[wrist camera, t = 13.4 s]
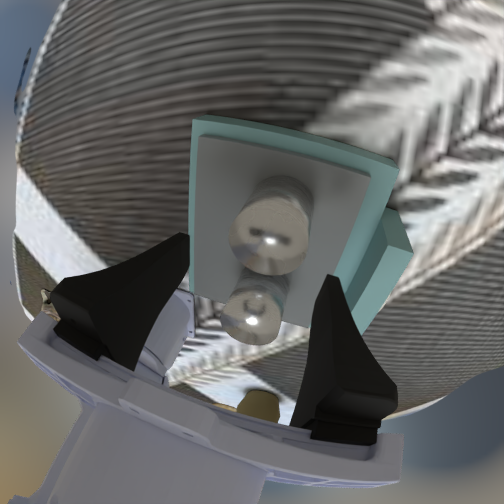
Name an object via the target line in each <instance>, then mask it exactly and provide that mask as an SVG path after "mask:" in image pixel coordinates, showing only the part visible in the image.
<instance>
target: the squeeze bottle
mask: <svg viewBox="0 0 504 504" xmlns="http://www.w3.org/2000/svg"><path fill="white" fill-rule="evenodd" d="M236 412H237V413H240V414H244V415H247V416H251V417H254V418H258V419H262V420H266V421H270V422H274V423H278V420H279V418H280V411H279V402H278V398H277V397H276V396H274V395H273V394H270V393H268V392H264V391H257V390H254V391H250V392H248V393H247V395H246V396H245V397H244V398H243V400H242V401H241V402H240V403H239V405H238V406H237V411H236Z"/></svg>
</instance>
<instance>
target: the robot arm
mask: <svg viewBox="0 0 504 504" xmlns="http://www.w3.org/2000/svg"><path fill="white" fill-rule="evenodd" d="M189 266H190V235H187V234H184V233H180V232H179V233H178V234H176V235H174V236H172V237H170V238H169V239H167V240H165V241H163V242H162V243H160V244H158V245H156V246H154V247H153V248H151V249H149V250H147V251H145V252H143V253H141V254H139V255H138V256H136V257H134V258H131V259H129V260H127V261H125V262H122V263H120V264H117V265H115V266H112V267H109V268H106V269H103V270H100V271H96V272H93V273H88V274H84V275H79V276H73V277H67V278H64V279H63V280H62V281H61V282H60V283H59V284H58V285H57V286H56V287H55V288H54V290H53V291H52V292H51V293H50V299H51V302H52V304H53V306H54V308H55V310H56V312H57V314H58V315H59V317H60V321H59V322H58V323H57V322H56V321H55V320H54V319H53V318H52V317H50V316H49V315H47V314H46V313H45V312H43V311H41V312H40V313H39V314H38V315H37V317H36V318H35V319H34V320H33V322H32V323H31V324H30V325H29V327H28V328H27V329H26V330H25V332H24V333H23V334H22V335H21V337H20V338H19V339H18V341H17V343H18V345H19V346H20V347H21V348H22V349H23V351H24V352H25V353H26V354H27V355H28V357H29V358H30V359H31V360H32V361H33V362H34V363H35V364H36V366H37V367H39V368H40V369H41V370H42V371H43V372H45V373H46V374H47V375H48V376H49V377H51V378H52V379H53V380H54V381H56V382H57V383H58V384H59V385H61V386H62V387H63V388H64V389H66V390H67V391H69V392H70V393H71V394H72V395H74V396H75V397H76V398H77V399H78V401H79V404H80V406H81V409H82V411H81V412H80V414H79V416H78V417H77V419H76V421H75V423H74V425H73V426H72V428H71V430H70V432H69V433H68V435H67V437H66V439H65V440H64V442H63V444H62V446H61V448H60V450H59V451H58V453H57V455H56V457H55V459H54V461H53V463H52V465H51V467H50V468H49V471H48V472H47V474H46V477H45V479H44V480H43V483H42V485H41V487H40V488H39V489H38V490H37V491H36V492H35V493H34V494H33V495H31V496H30V497H29V498H27V497H22V496H17V495H14V497H13V499H10V500H9V502H8V504H258V501H259V497H260V494H261V492H262V488H263V485H264V482H265V480H270V481H276V482H282V483H290V484H298V485H307V486H321V487H341V488H372V487H378V486H383V485H388V484H393V483H397V482H399V481H400V476H401V467H402V456H403V440H404V435H403V434H391V433H381V434H377V430H378V428H380V427H381V420H382V419H383V418H385V417H387V416H388V415H390V414H391V413H393V412H394V411H395V410H396V409H397V407H398V392H397V386H396V384H395V383H394V382H393V381H392V380H391V379H390V377H389V376H388V375H387V374H386V373H385V372H384V370H383V369H382V368H381V366H380V365H379V364H378V362H377V361H376V359H375V358H374V356H373V355H372V353H371V352H370V350H369V349H368V347H367V345H366V344H365V342H364V340H363V338H362V336H361V334H360V332H359V330H358V328H357V326H356V324H355V321H354V319H353V317H352V314H351V311H350V309H349V306H348V303H347V301H346V298H345V295H344V292H343V288H342V285H341V282H340V279H339V277H337V276H333V275H330V274H327V275H326V278H325V280H324V282H323V285H322V287H321V289H320V291H319V294H318V296H317V298H316V300H315V304H314V309H313V314H312V319H311V329H310V339H309V349H308V357H307V364H306V368H305V372H304V376H303V381H302V384H301V388H300V392H299V396H298V399H297V402H296V406H295V409H294V412H293V415H292V419H291V422H290V425H289V426H287V425H282V424H278V423H274V422H270V421H266V420H262V419H258V418H254V417H251V416H247V415H244V414H240V413H237V412H234V411H230V410H227V409H224V408H221V407H218V406H215V405H212V404H209V403H206V402H204V401H201V400H198V399H195V398H193V397H190V396H188V395H185V394H183V393H180V392H178V391H175V390H173V389H170V388H169V382H168V381H169V380H168V377H167V376H165V373H166V371H167V370H168V369H170V368H171V366H172V365H173V363H174V361H175V359H176V357H177V355H178V354H179V352H180V350H181V348H182V346H183V344H184V342H185V340H186V338H187V336H189V337H191V338H194V337H195V321H194V297H193V295H192V294H190V293H187V292H184V291H181V290H178V289H177V287H178V286H179V284H180V283H181V281H182V280H183V278H184V276H185V274H186V272H187V270H188V268H189Z"/></svg>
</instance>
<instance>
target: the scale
mask: <svg viewBox="0 0 504 504" xmlns="http://www.w3.org/2000/svg"><path fill="white" fill-rule="evenodd" d="M202 134H207V135H213V136H220V137H226V138H231V139H237V140H242V141H247V142H252V143H257V144H262V145H267V146H271V147H276V148H280V149H285V150H289V151H293V152H297V153H301V154H305V155H309V156H312V157H316V158H320V159H323V160H327V161H330V162H334V163H337V164H340V165H344V166H347V167H350V168H353V169H356V170H360V171H363V172H366V173H369V174H370V176H371V180H370V183H369V186H368V189H367V191H366V194H365V197H364V200H363V202H362V205H361V208H360V211H359V213H358V216H357V218H356V221H355V224H354V226H353V229H352V231H351V234H350V236H349V239H348V241H347V244H346V246H345V248H344V251H343V253H342V256H341V258H340V260H339V263H338V265H337V267H336V270H335V272H334V274H333V276H337V277H339V279H340V282H341V285H342V288H343V292H344V295H345V298H346V301H347V303H348V306H349V309H350V311H351V314H352V317H353V319H354V321H355V324H356V326H357V328H358V330H359V332H360V334H361V335H362V334H363V332H364V331H365V330H366V328H367V327H368V326H369V324H370V323H371V321H372V320H373V318H374V317H375V316H376V314H377V313H378V312H379V311H380V310H381V309H382V308H383V306H384V305H385V303H386V302H387V300H388V298H389V296H390V294H391V291H392V290H393V288H394V286H395V285H396V283H397V282H398V280H399V278H400V277H401V275H402V273H403V272H404V270H405V268H406V266H407V265H408V263H409V261H410V259H411V258H412V256H413V254H414V253H413V250H412V247H411V244H410V241H409V239H408V236H407V233H406V231H405V228H404V226H403V223H402V221H401V218H400V216H399V213H398V211H395V210H392V209H390V208H387V207H386V204H387V202H388V199H389V197H390V194H391V192H392V189H393V186H394V184H395V181H396V178H397V176H398V173H399V170H400V169H399V168H398V167H397V165H396V164H395V162H394V161H393V160H392V159H389V158H386V157H383V156H381V155H378V154H375V153H372V152H369V151H366V150H363V149H360V148H357V147H354V146H351V145H348V144H344V143H341V142H338V141H334V140H331V139H327V138H324V137H320V136H316V135H312V134H309V133H305V132H300V131H296V130H292V129H288V128H283V127H279V126H274V125H269V124H264V123H259V122H253V121H247V120H241V119H235V118H229V117H222V116H214V115H203V116H200V117H198V118H195V119H193V122H192V137H191V155H190V178H189V235H190V266H189V290H190V292H193V293H194V217H195V187H196V166H197V150H198V136H200V135H202ZM309 327H310V328H311V323H310V325H309Z"/></svg>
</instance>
